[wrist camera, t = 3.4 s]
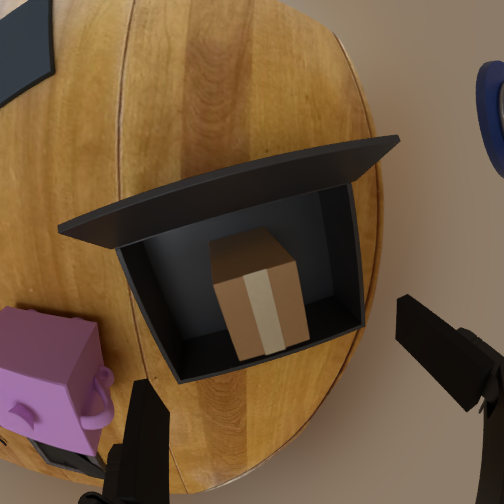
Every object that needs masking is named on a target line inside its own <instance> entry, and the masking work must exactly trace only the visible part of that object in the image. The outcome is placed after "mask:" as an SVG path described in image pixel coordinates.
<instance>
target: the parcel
mask: <svg viewBox="0 0 504 504" xmlns="http://www.w3.org/2000/svg"><path fill="white" fill-rule="evenodd" d="M209 252H210V262H211V271H212V281H213V287H214V290H215V293H216V296H217V299H218V302H219V305H220V308H221V311H222V313H223V316H224V319H225V322H226V325H227V328H228V331H229V333H230V336H231V339H232V342H233V345H234V347H235V350H236V353H237V356H238V358H239V360H240V361H242V360H246V359H249V358H253V357H256V356H260V355H263V354H266V355H268V354H272V353H275V352H278V351H281V350H284V349H286V348H285V347H288V346H291V345H294V344H297V343H300V342H303V341H306V340H309V339H310V336H309V331H308V325H307V319H306V313H305V308H304V302H303V297H302V291H301V286H300V281H299V275H298V270H297V265H296V261H295V260H294V259H293V257H292V256H291V255H290V254H289V253H288V252H287V251H286V250H285V249H284V248H283V247H282V245H281V244H280V243H279V242H278V241H277V240H276V239H275V238H274V237H273V236H272V235H271V234H270V232H269V231H268V230H267V229H266V228H265V227H264V226H263V227H259V228H256V229H252V230H249V231H245V232H241V233H238V234H234V235H231V236H227V237H224V238H221V239H217V240H214V241H210V242H209Z"/></svg>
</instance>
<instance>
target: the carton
mask: <svg viewBox="0 0 504 504" xmlns="http://www.w3.org/2000/svg"><path fill="white" fill-rule="evenodd" d="M263 226H264V227H265V228H266V229H267V230H268V231H269V232H270V234H271V235H272V236H273V237H274V238H275V239H276V240H277V241H278V242H279V243H280V244H281V245H282V247H283V248H284V249H285V250H286V251H287V252H288V253H289V254H290V255H291V256H292V257H293V259H294V260H295V261H296V265H297V270H298V275H299V281H300V286H301V291H302V297H303V302H304V308H305V313H306V319H307V325H308V331H309V336H310V339H309V340H306V341H303V342H300V343H297V344H294V345H291V346H288V347H285V348H286V349H284V350H281V351H278V352H275V353H272V354H268V355H266V354H263V355H260V356H256V357H253V358H249V359H246V360H242V361H240V360H239V358H238V356H237V353H236V350H235V347H234V345H233V342H232V339H231V336H230V333H229V331H228V328H227V325H226V322H225V319H224V316H223V313H222V311H221V308H220V305H219V302H218V299H217V296H216V293H215V290H214V287H213V281H212V271H211V262H210V252H209V242H210V241H214V240H217V239H221V238H224V237H227V236H231V235H234V234H238V233H241V232H245V231H249V230H252V229H256V228H259V227H263ZM115 249H116V250H115V251H116V253H117V256H118V259H119V261H120V264H121V266H122V269H123V271H124V274H125V276H126V279H127V281H128V283H129V286H130V288H131V290H132V293H133V295H134V297H135V300H136V302H137V304H138V306H139V308H140V311H141V313H142V315H143V317H144V319H145V321H146V323H147V326H148V328H149V330H150V332H151V334H152V336H153V338H154V340H155V342H156V344H157V346H158V348H159V350H160V352H161V353H162V355H163V357H164V359H165V361H166V363H167V365H168V367H169V368H170V370H171V372H172V374H173V376H174V377H175V379H176V381H177V383H178V384H183V383H188V382H193V381H197V380H201V379H205V378H210V377H214V376H218V375H222V374H225V373H229V372H233V371H237V370H240V369H244V368H247V367H251V366H254V365H258V364H261V363H265V362H268V361H271V360H274V359H277V358H281V357H284V356H287V355H290V354H293V353H296V352H299V351H302V350H305V349H307V348H310V347H313V346H316V345H319V344H321V343H324V342H327V341H330V340H332V339H335V338H337V337H340V336H343V335H345V334H348V333H350V332H353V331H355V330H358V329H360V328H362V327H365V304H364V287H363V273H362V262H361V251H360V242H359V233H358V225H357V217H356V210H355V203H354V196H353V190H352V184H351V182H349V183H345V184H340V185H336V186H332V187H328V188H323V189H319V190H315V191H311V192H307V193H303V194H299V195H295V196H291V197H287V198H283V199H280V200H276V201H272V202H268V203H264V204H261V205H257V206H253V207H249V208H246V209H242V210H239V211H235V212H231V213H228V214H224V215H221V216H217V217H214V218H210V219H207V220H203V221H200V222H197V223H193V224H190V225H187V226H183V227H180V228H177V229H173V230H170V231H167V232H164V233H160V234H157V235H154V236H151V237H148V238H145V239H142V240H138V241H135V242H132V243H129V244H126V245H123V246H120V247H117V248H115Z"/></svg>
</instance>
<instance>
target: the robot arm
mask: <svg viewBox="0 0 504 504" xmlns="http://www.w3.org/2000/svg"><path fill="white" fill-rule="evenodd" d="M497 112H498V120H499V125H500V130H501V134H502V137H503V140H504V81H503V82H501V84H500V85H499V88H498V92H497ZM395 339H396V340H397V341H398V342H399V343H400V344H401V345H402V346H403V347H404V348H405V349H406V350H407V351H408V352H409V353H410V354H411V355H412V356H413V357H414V358H415V359H416V360H417V361H418V362H419V363H420V364H421V365H422V366H423V367H424V368H425V369H426V370H427V371H428V372H429V373H430V374H431V375H432V376H433V377H434V379H435V380H436V381H437V382H439V384H440V385H441V386H442V387H443V388H444V389H445V390H446V391H447V392H448V393H449V394H450V395H451V396H452V397H453V398H454V399H455V400H456V402H457V403H458V404H459V405H460V406H461V407H462V408H463V409H464V410H465V411H466V412H468V411H469V410H470V409H472V408H473V407H474V406H475V405H476V404H478V402H479V399H480V397H481V395H482V396H483V397H484V398H485V399H484V402H483V403H482V405H481V407H480V410H479V413H481V412H482V410H483V408H484V429H483V450H482V463H481V471H480V479H479V486H478V493H477V498H476V503H475V504H504V357H503V356H502V355H501V354H499V353H498V352H497V351H495V350H494V349H493V348H492V347H491V346H489V345H488V344H487V343H485V342H483V341H482V339H480V338H479V337H477V336H476V335H475V334H474V333H473V332H471V331H470V330H467V329H464V328H459V329H458V330H455V329H454V328H453V327H451V326H450V325H449V324H448V323H446V322H445V321H444V320H442V319H441V318H440V317H438V316H437V315H436V314H434V313H433V312H432V311H430V310H429V309H428V308H426V307H425V306H424V305H422V304H421V303H420V302H418V301H417V300H415V299H414V298H413V297H411V296H410V295H408V294H407V295H405V296H402V297H400V298H398V299H397V315H396V337H395ZM169 424H170V412H169V411H168V409H167V408H166V406H165V405H164V403H163V402H162V400H161V399H160V397H159V396H158V394H157V393H156V391H155V390H154V388H153V387H152V385H151V383H150V382H149V380H148V379H142V380H137V381H134V383H133V388H132V393H131V398H130V403H129V409H128V414H127V420H126V426H125V432H124V438H123V444H113V446H112V448H111V449H110V451H109V453H108V458H107V464H106V472H105V477H104V484H103V492H102V495H101V494H99V493H97V492H87V493H85V494H83V495H82V496H81V497H80V499H79V501H78V504H169V503H170V502H169Z"/></svg>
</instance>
